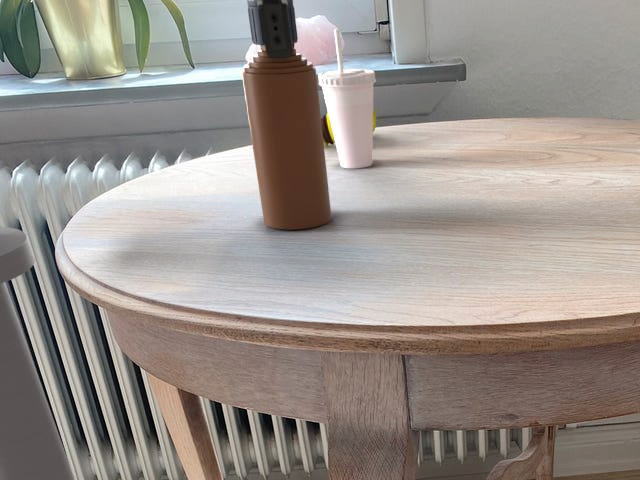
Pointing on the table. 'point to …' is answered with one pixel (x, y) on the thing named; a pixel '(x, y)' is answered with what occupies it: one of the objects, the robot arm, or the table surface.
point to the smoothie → (350, 110)
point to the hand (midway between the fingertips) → (281, 53)
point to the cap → (257, 22)
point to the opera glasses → (328, 132)
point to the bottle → (287, 140)
